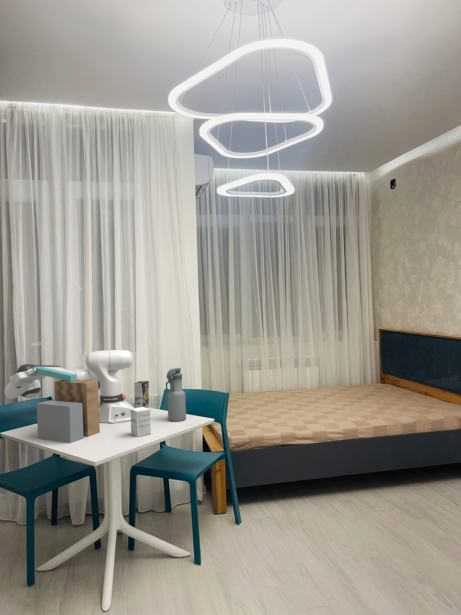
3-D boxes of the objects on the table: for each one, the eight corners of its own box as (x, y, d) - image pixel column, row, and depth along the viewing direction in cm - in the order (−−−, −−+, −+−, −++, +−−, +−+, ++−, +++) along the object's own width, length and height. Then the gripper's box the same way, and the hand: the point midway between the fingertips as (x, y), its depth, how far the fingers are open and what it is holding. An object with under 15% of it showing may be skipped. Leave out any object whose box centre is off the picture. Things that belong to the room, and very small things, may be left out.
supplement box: (130, 434, 225) (129, 408, 225) (144, 431, 229) (143, 406, 229) (137, 437, 219) (136, 411, 219) (151, 434, 223) (150, 408, 223)
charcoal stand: (37, 438, 224) (36, 403, 224) (51, 433, 231) (50, 400, 231) (70, 443, 213) (69, 406, 213) (83, 438, 220) (82, 403, 221)
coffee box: (144, 409, 281) (143, 383, 281) (134, 409, 283) (133, 383, 283) (149, 406, 290) (149, 380, 290) (140, 406, 292) (139, 380, 292)
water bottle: (176, 423, 245) (175, 370, 245) (163, 420, 251) (162, 369, 251) (189, 418, 253) (188, 368, 253) (176, 416, 259) (175, 367, 259)
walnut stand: (55, 432, 233) (54, 381, 233) (68, 428, 240) (66, 379, 240) (88, 436, 223) (86, 383, 223) (99, 432, 230) (98, 380, 230)
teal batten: (32, 372, 243) (32, 367, 243) (38, 371, 247) (38, 366, 247) (70, 381, 231) (70, 375, 230) (76, 380, 234) (76, 374, 234)
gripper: (43, 382, 258) (57, 370, 252) (10, 389, 239) (25, 376, 234) (38, 372, 259) (53, 360, 253) (6, 378, 241) (21, 365, 235)
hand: (40, 368), depth 244 cm, fingers closed on teal batten, 4 cm apart
